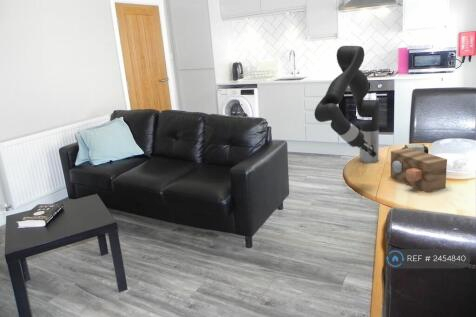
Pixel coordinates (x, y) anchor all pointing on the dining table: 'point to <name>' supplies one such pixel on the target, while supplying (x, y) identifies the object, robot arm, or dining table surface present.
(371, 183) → the dining table surface
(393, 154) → the socket block
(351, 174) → the dining table surface
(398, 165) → the grey plug
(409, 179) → the terracotta plug
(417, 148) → the pneumatic valve
